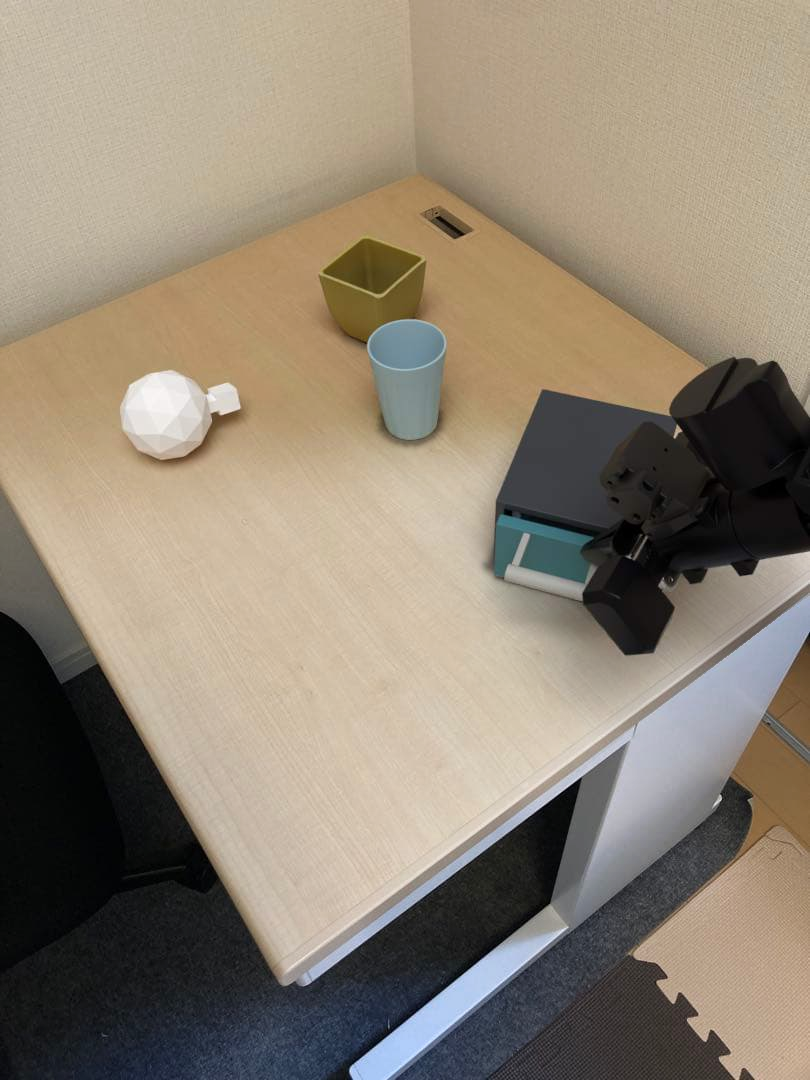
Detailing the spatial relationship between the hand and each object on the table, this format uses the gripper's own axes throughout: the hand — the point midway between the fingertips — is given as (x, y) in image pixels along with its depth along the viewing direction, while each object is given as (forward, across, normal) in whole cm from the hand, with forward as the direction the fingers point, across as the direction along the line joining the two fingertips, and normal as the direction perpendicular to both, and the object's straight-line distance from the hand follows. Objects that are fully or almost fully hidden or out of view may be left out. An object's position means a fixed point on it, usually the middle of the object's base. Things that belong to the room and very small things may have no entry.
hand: (584, 553), depth 73 cm
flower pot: (+32, -25, -19) cm, 45 cm away
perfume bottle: (+37, 0, -24) cm, 45 cm away
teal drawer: (+8, -5, +3) cm, 10 cm away
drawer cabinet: (+9, -10, +4) cm, 14 cm away
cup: (+24, -14, -11) cm, 30 cm away
